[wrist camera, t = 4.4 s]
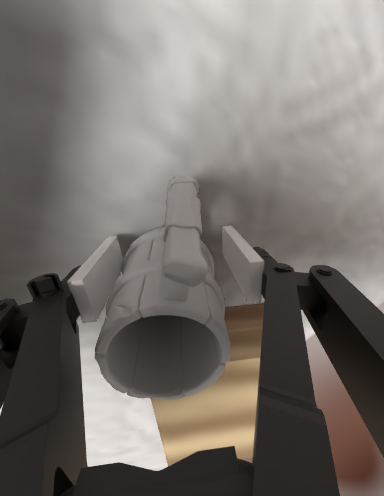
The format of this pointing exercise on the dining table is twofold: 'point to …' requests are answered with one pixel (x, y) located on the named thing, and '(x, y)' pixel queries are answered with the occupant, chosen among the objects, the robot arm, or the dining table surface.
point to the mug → (166, 309)
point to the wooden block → (219, 397)
